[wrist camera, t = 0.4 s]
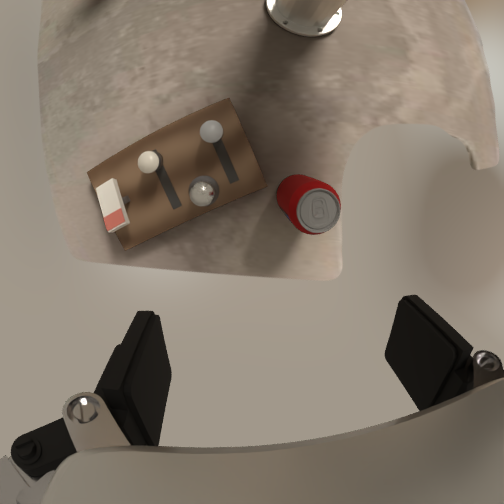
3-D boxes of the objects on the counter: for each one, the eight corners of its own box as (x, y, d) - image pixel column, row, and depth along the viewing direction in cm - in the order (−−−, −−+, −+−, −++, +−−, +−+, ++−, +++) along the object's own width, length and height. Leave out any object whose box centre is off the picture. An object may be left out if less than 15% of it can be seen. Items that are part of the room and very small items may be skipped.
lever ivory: (142, 156, 36) (134, 157, 33) (160, 147, 36) (153, 147, 33) (150, 174, 37) (143, 177, 34) (168, 165, 37) (162, 166, 34)
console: (95, 170, 39) (81, 173, 35) (229, 101, 37) (229, 95, 33) (131, 244, 44) (121, 254, 40) (264, 183, 42) (269, 188, 38)
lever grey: (199, 128, 36) (196, 126, 32) (218, 119, 35) (217, 116, 32) (207, 146, 37) (205, 146, 33) (227, 138, 36) (226, 137, 33)
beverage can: (278, 218, 44) (294, 242, 33) (273, 176, 42) (288, 186, 31) (318, 213, 45) (346, 234, 33) (315, 171, 42) (344, 180, 31)
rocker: (99, 189, 37) (94, 188, 35) (116, 179, 36) (111, 177, 35) (112, 232, 37) (107, 232, 35) (130, 223, 36) (125, 222, 35)
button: (187, 186, 37) (185, 188, 36) (208, 177, 37) (207, 178, 35) (197, 207, 39) (195, 210, 37) (218, 197, 38) (217, 200, 36)
